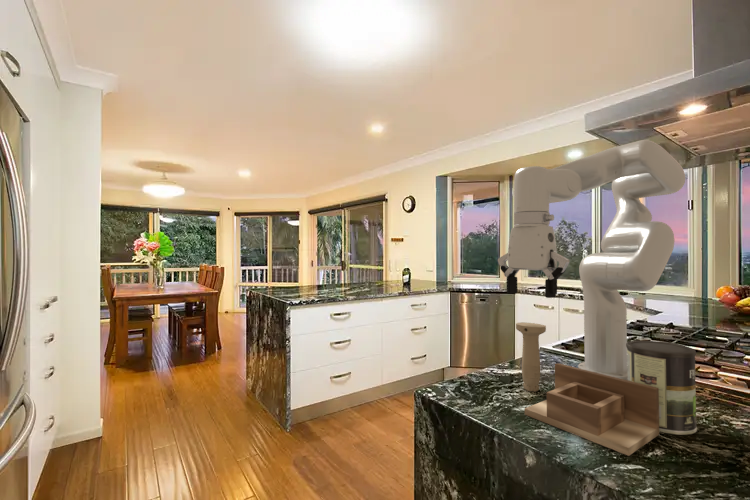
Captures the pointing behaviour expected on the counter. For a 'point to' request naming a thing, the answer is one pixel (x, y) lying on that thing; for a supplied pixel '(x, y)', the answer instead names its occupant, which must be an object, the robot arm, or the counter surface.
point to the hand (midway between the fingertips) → (530, 295)
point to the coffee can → (667, 381)
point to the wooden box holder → (601, 409)
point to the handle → (530, 354)
